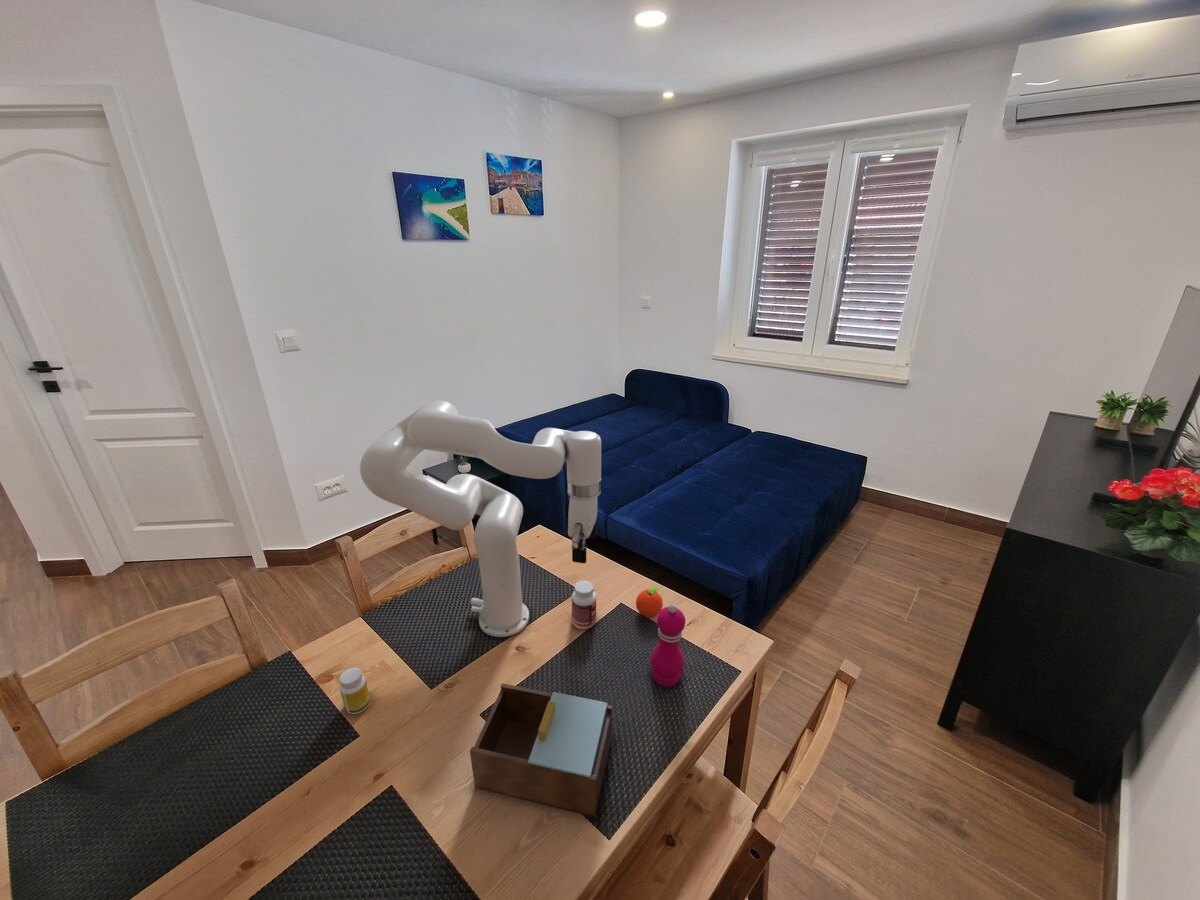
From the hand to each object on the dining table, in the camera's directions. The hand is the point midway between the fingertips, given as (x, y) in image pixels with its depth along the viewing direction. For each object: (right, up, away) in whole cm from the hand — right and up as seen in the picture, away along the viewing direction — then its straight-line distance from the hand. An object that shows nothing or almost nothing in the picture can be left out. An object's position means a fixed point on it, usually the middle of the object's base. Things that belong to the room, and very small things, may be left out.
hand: (584, 549), depth 115 cm
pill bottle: (0, -20, +9) cm, 22 cm away
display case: (-6, -35, -25) cm, 43 cm away
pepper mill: (+19, -27, -6) cm, 33 cm away
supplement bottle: (-47, -30, -14) cm, 57 cm away
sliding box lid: (-2, -26, -30) cm, 39 cm away
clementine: (+17, -19, +12) cm, 28 cm away
